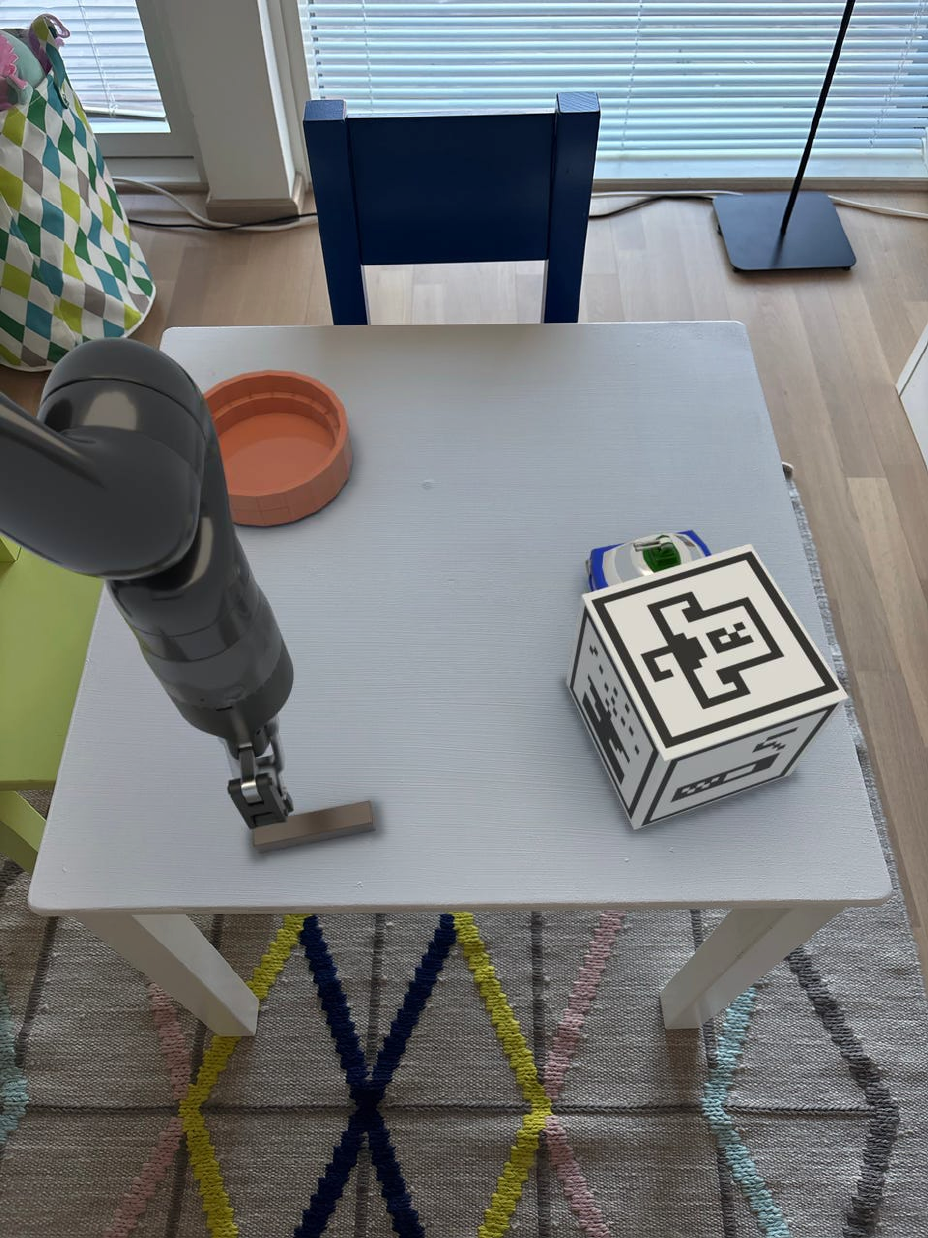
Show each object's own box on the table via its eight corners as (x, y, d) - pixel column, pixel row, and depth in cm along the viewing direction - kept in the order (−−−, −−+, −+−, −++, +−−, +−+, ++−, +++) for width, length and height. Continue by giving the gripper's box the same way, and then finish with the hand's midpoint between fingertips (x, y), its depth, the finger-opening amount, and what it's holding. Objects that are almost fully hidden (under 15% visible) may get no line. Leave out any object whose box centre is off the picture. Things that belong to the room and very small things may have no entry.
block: (790, 774, 80) (849, 697, 67) (634, 830, 78) (664, 761, 65) (710, 636, 88) (750, 543, 75) (566, 683, 85) (581, 595, 73)
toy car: (577, 571, 92) (586, 512, 84) (690, 548, 93) (710, 488, 85) (605, 649, 87) (618, 594, 79) (723, 624, 88) (748, 567, 80)
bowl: (195, 541, 95) (180, 508, 90) (188, 419, 104) (174, 383, 99) (363, 513, 96) (357, 479, 92) (342, 395, 105) (335, 359, 101)
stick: (375, 830, 78) (373, 822, 76) (258, 853, 77) (253, 846, 76) (372, 808, 79) (369, 800, 77) (256, 831, 78) (251, 823, 77)
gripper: (149, 562, 57) (216, 683, 71) (156, 771, 50) (229, 860, 63) (269, 540, 58) (312, 664, 72) (293, 744, 50) (336, 838, 64)
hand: (273, 756), depth 67 cm, fingers open, 8 cm apart
